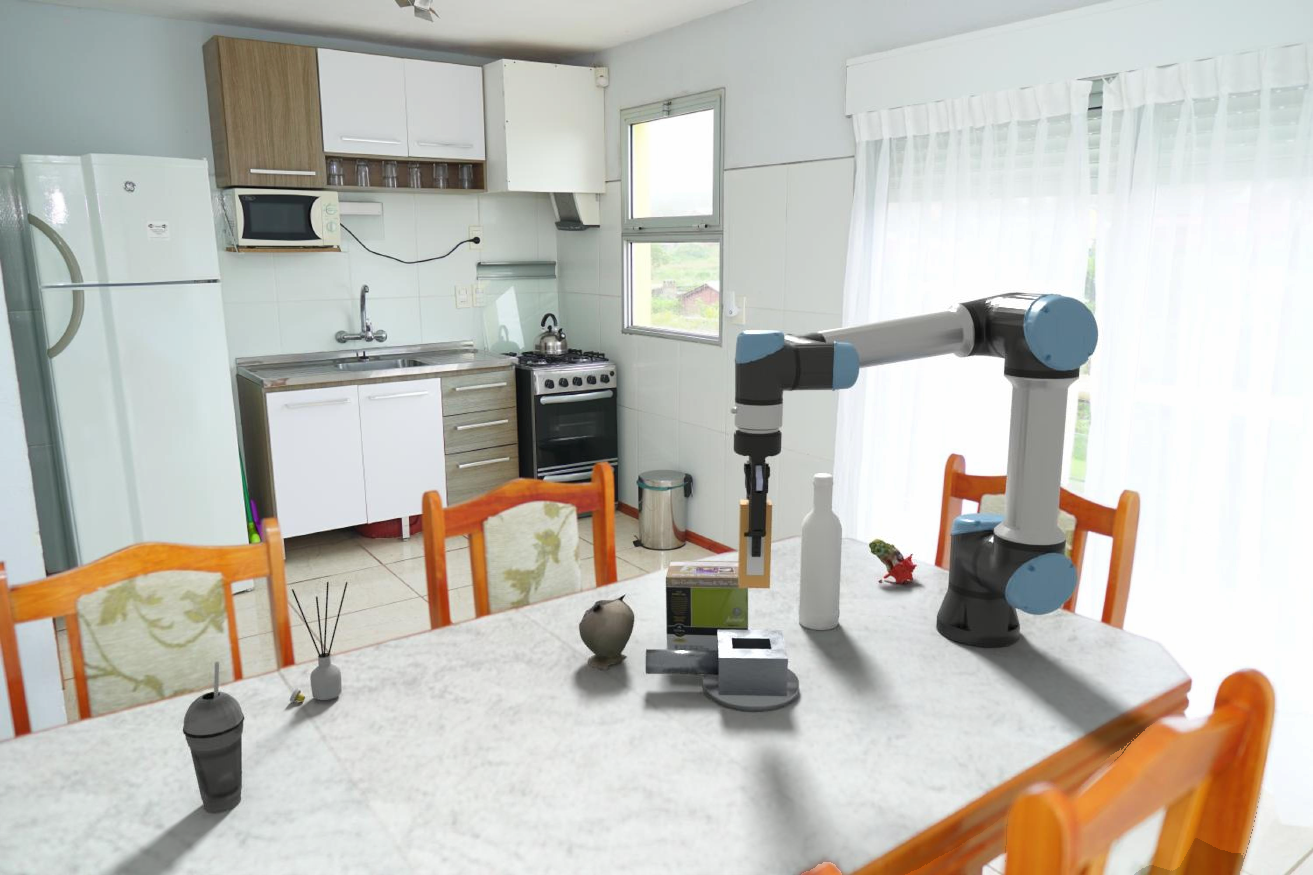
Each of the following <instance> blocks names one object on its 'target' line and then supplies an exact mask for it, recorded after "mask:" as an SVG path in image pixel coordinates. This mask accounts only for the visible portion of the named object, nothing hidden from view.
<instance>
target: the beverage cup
mask: <svg viewBox="0 0 1313 875" xmlns="http://www.w3.org/2000/svg"><path fill="white" fill-rule="evenodd" d="M219 668H220V662H219V661H215V662H214V679H213V680H214V682H213V685H214V686H213V691H210V692H206V693H203V694H202V695H199V696H198V697H197V698H196V699H194V701H192V703H191V704H190V705H189V707H188V708H187V710H186V712H185V715H184V719H183V727H182V732H183V733H182V734H184V736H185V740H186V743H187V746H188V747H189V750H190V753H191V755H190V756H191V758H192V762H193V767H194V772H195V775H196V781H197V785H198V786H197V787H198V788H199V789H198V790H199V793H200V794H199V795H200V799H201V800H202V805H203V810H204V811H205V812H207V813H210V814H218V813H223V812H228V811H230V810H232V809H234V808H235V807H237V806H239V804H240V803H241V801H242V788H243V776H242V774H243V770H242V769H243V767H242V766H243V760H242V759H243V758H242V757H243V753H242V749H243V744H242V743H243V741H242V738H243V737H242V736H243V732H244V721H245V715H244V713H243V711H242V707H241V705H240V703H239V702H238V700H237V699H236V698H235V697H234V696H232V695H231V694H229V693H226V692H223V691H219V683H220V682H219V680H220V678H219V676H220V675H219V674H220V671H219V670H220V669H219Z"/></svg>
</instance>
